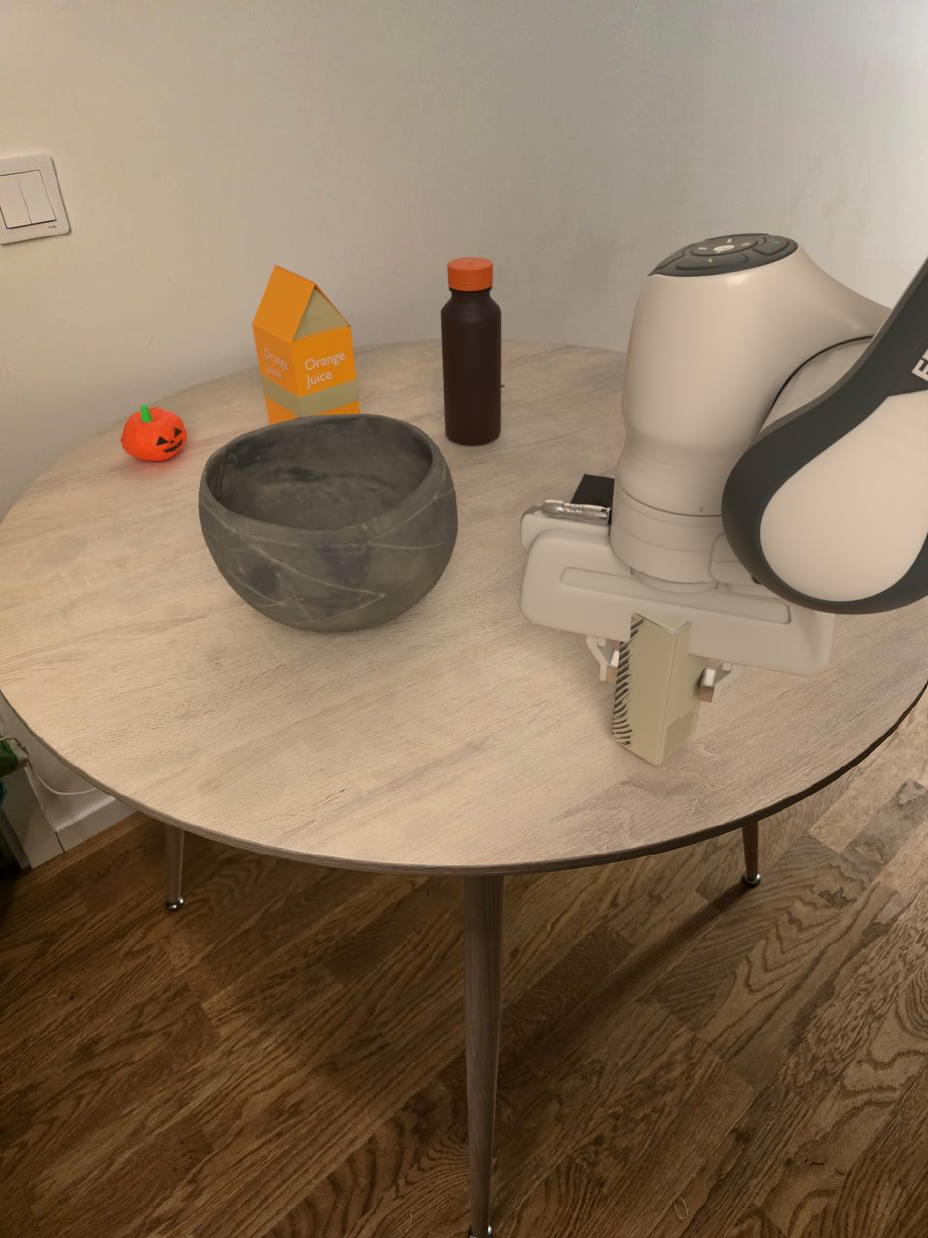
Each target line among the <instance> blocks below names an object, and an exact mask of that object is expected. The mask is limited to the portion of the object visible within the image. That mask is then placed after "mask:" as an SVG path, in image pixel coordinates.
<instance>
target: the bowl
mask: <svg viewBox="0 0 928 1238" xmlns="http://www.w3.org/2000/svg"><path fill="white" fill-rule="evenodd" d="M458 515H459V514H458V503H457V493H456V489H455V484H454V481H453V477H452V474H451V471H450V468H449V465H448V462H447V461H446V459H445V456H444V455H443V453H442V451H441V449H440V447H439V446H438V444H436V442H435V441H434V440H433V439H432V438H431V436H429V434H427V433H426V432H425V431H424V430H422V429H421V428H420V427H417V426H416V425H414V424H411V423H410V422H408V421H405V420H402V419H398V418H394V417H391V416H386V415H382V414H373V413H360V414H338V415H314V416H305V417H299V418H295V419H292V420H288V421H283V422H279V423H276V424H273V425H270V424H269V425H266V426H263V427H260V428H257V429H254V430H251V431H248V432H245V433H242V434H240V435H238V436H237V437H234V438H233V439H231V440H230V441H228V442H227V443H226V444H224V445H222V446H221V447H219V448H217V449H216V450H215V451H214V452H213V453H211V455H210V456H209V458H208V459H207V461H206V462H205V465H204V468H203V470H202V473H201V476H200V480H199V489H198V517H199V518H198V519H199V524H200V528H201V533H202V536H203V539H204V542H205V545H206V547H207V550H208V551H209V553H210V555H211V557H212V560H213V562H214V563H215V565H216V568H217V569H218V571H219V573H220V574H221V576H222V577H223V579H224V580H225V581H226V583H227V584H228V585H229V586H230V588H231V589H232V590H233V591H234V592H235V593H236V594H237V595H238V596H239V598H241V599H242V600H243V601H244V602H245V603H246V604H247V605H248V606H250V607H251V608H252V610H255V611H256V612H258V613H259V614H260V615H263V616H264V617H266V618H268V619H270V620H272V621H274V622H276V623H279V624H282V625H284V626H287V627H290V628H293V629H297V630H302V631H309V632H316V633H338V632H341V633H342V632H345V633H346V632H347V633H348V632H360V631H363V630H367V629H371V628H372V629H373V628H375V627H377V626H380V625H383V624H385V623H387V622H390V621H392V620H395V619H396V618H397V617H399V616H400V615H402V614H403V613H405V612H406V611H408V610H410V609H411V608H412V607H414V606H415V605H417V604H418V603H419V602H420V601H422V600H423V599H424V598H425V597H426V596H427V595H428V594H429V593H430V592H431V591H432V590H433V589H434V588H435V587H436V585H437V584H438V583H439V581H440V580H441V578H442V576H443V575H444V573H445V571H446V569H447V567H448V565H449V563H450V561H451V558H452V555H453V552H454V549H455V545H456V542H457V536H458V532H459V531H458V530H459V528H458V527H459V517H458Z"/></svg>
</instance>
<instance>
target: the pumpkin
mask: <svg viewBox="0 0 928 1238" xmlns="http://www.w3.org/2000/svg"><path fill="white" fill-rule="evenodd" d="M187 440H188V431H187V429H186V428H185V423H184V422H183V420H182V419H181V417H180V416H178V415H177V414H176V413H174V412H173V411H169V410H166V409H164V408H161V407H159V406H155V407H148V405H147V404H144V403H143V404H142V405H140V410H139V411H136V412H135V413H133V414H132V415H131V416H130V417H129V418H128V419H127V420H126V422H125V423H124V426H123V430H122V432H121V437H120V443H121V448H122V449H123V450H124V451H125V453H126V454H128V455H129V456H132V457H133V458H136V459H139V460H141V461H147V462H162V461H166V460H168V459H170V458H172V457H174V456H175V455H176V454H177V453H178V452H179V451H180V450H181V449H182V448H183V447H184V445H185V443H186V442H187Z"/></svg>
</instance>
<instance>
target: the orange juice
mask: <svg viewBox="0 0 928 1238" xmlns="http://www.w3.org/2000/svg"><path fill="white" fill-rule="evenodd" d="M251 327H252V332H253V333H252V334H253V338H254V344H255V350H256V354H257V355H256V356H257V362H258V366H259V367H258V368H259V372H260V373H259V374H260V375H259V376H260V380H261V385H262V386H261V387H262V392H263V396H264V401H265V406H266V407H265V408H266V412H267V418H268V422H269V423H268V424H269V425H273V424H276V423H279V422H283V421H288V420H292V419H295V418H299V417H305V416H314V415H338V414H361V410H360V409H361V408H360V394H359V386H358V385H359V384H358V379H357V372H356V362H355V353H354V343H353V334H352V325H351V324H350V323H349V322H348V320H347V319H346V318H345V317H344V316H343V314H342V313H341V312H340V311H339V310H338V308H337V307H336V306H335V305H334V304H333V303H332V302H331V300H330V299H329V298H328V297H327V295H326V294H325V293H324V291H322V289H321V288H320V287H319V286H318V284H317V283H316V282H315V281H313V280H310V279H308V278H306V277H304V276H301V275H300V274H297V273H295V272H293V271H290V270H288V269H286V268H284V267H281V266H279V265H276V264H274V266H273V269H272V271H271V274H270V276H269V279H268V281H267V284H266V287H265V288H264V292H263V294H262V297H261V300H260V302H259V305H258V307H257V310H256V312H255V316H254V317H253V321H251Z"/></svg>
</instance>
